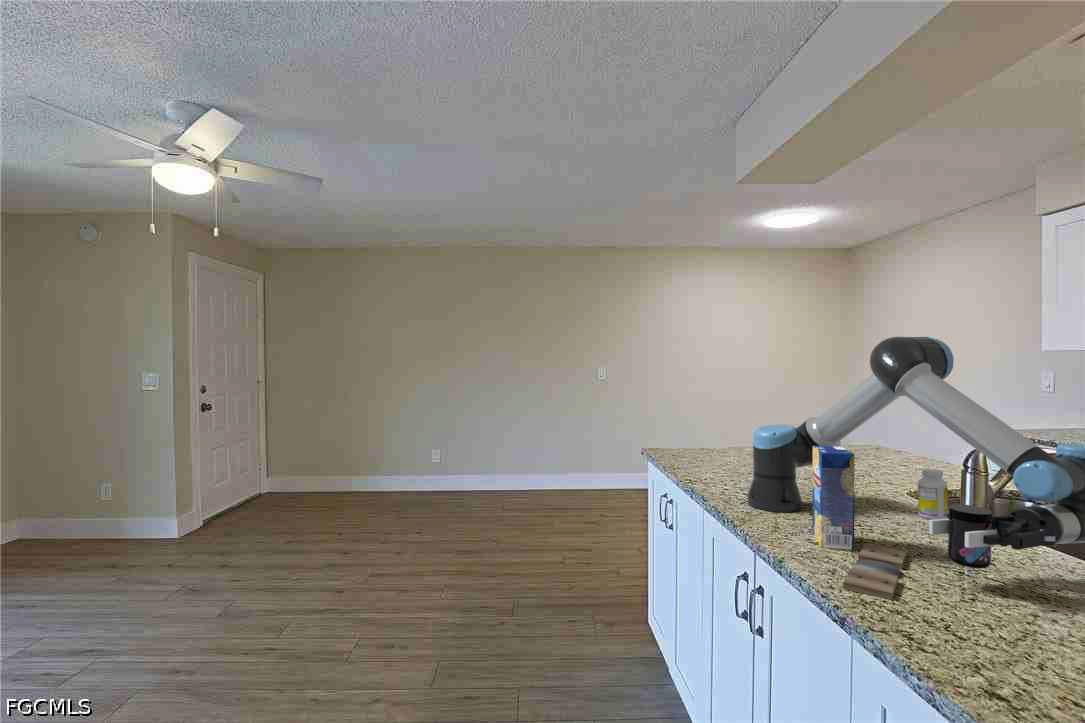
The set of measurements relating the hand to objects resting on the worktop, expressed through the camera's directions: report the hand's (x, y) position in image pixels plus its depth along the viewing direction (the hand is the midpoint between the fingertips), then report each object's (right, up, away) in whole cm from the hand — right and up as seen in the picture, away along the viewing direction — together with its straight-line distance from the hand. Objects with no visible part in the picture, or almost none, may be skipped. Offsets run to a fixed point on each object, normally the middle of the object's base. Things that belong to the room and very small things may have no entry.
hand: (948, 533), depth 107 cm
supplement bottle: (+30, -10, +47) cm, 56 cm away
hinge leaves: (-8, -10, +9) cm, 16 cm away
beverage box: (-8, -11, +27) cm, 30 cm away
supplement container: (+5, -6, +1) cm, 8 cm away
